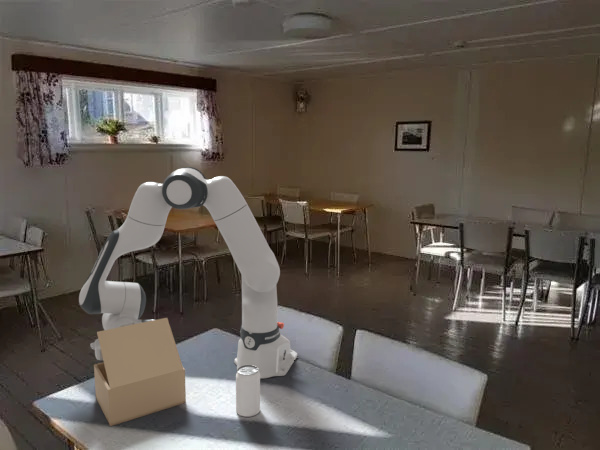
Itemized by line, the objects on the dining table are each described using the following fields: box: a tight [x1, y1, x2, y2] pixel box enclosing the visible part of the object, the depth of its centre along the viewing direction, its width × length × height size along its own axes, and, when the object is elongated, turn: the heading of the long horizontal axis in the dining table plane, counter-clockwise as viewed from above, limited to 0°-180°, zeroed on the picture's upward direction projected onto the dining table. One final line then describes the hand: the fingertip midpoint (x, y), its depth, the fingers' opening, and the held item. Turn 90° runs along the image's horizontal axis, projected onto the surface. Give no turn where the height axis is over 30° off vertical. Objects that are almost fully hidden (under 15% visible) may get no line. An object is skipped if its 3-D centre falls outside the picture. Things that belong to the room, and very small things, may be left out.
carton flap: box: [96, 317, 184, 389], centre depth 127 cm, size 16×19×1 cm
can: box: [235, 365, 261, 418], centre depth 126 cm, size 6×6×12 cm
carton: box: [93, 361, 187, 427], centre depth 131 cm, size 16×20×10 cm
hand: (140, 353), depth 127 cm, fingers closed, pressing on carton flap
